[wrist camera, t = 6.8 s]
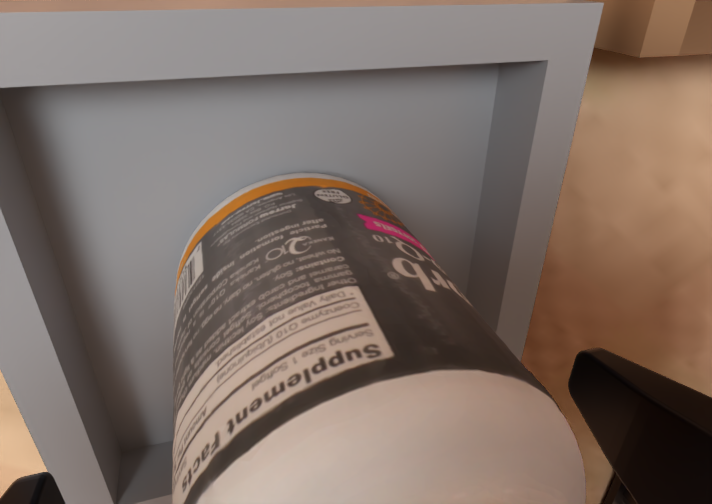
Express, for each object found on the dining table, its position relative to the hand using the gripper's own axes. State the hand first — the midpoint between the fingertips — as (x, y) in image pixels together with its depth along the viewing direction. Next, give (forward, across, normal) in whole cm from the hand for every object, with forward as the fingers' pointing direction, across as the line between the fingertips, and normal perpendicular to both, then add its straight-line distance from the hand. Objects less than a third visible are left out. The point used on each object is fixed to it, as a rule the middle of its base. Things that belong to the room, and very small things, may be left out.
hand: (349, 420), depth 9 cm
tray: (+6, 0, 0) cm, 6 cm away
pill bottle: (+5, 0, 0) cm, 5 cm away
